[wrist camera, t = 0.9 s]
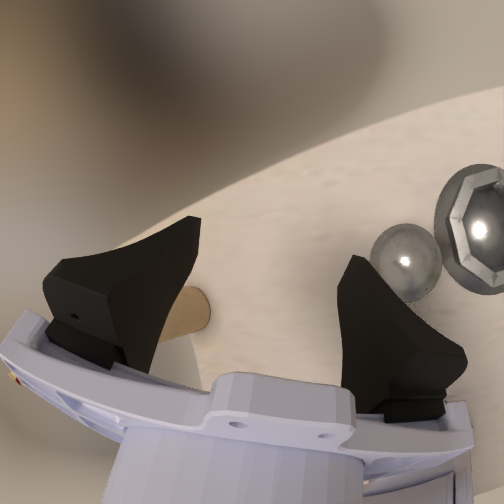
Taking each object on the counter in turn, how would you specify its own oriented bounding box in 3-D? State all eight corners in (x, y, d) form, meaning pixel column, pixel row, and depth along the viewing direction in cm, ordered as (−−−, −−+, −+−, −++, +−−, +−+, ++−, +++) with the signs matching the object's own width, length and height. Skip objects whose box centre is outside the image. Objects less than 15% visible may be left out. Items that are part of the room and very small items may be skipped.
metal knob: (442, 253, 19) (455, 255, 14) (408, 301, 20) (410, 317, 15) (398, 218, 21) (397, 208, 16) (366, 265, 22) (354, 270, 17)
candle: (188, 277, 33) (119, 284, 24) (217, 307, 31) (147, 324, 22) (172, 309, 35) (108, 322, 26) (198, 339, 32) (133, 361, 24)
